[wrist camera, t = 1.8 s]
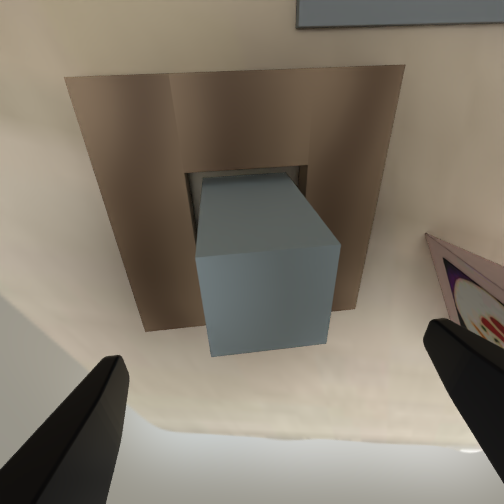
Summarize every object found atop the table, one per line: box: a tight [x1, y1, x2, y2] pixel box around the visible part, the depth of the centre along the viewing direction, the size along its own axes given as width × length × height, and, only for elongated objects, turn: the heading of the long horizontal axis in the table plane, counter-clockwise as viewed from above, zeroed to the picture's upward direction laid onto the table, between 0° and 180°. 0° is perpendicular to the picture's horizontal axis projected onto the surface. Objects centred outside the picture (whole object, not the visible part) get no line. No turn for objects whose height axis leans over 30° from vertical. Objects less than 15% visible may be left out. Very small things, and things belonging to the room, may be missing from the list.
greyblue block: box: [195, 172, 341, 357], centre depth 13 cm, size 4×4×8 cm
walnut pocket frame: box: [64, 65, 405, 332], centre depth 16 cm, size 14×14×2 cm
